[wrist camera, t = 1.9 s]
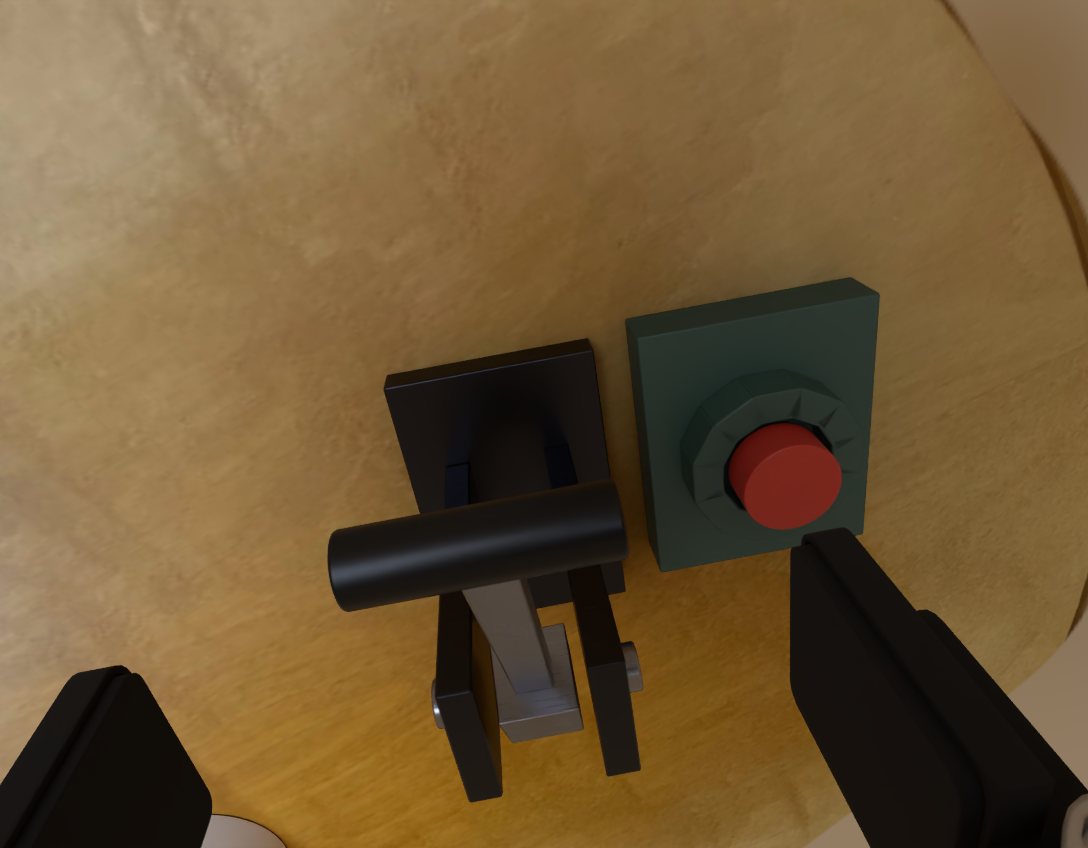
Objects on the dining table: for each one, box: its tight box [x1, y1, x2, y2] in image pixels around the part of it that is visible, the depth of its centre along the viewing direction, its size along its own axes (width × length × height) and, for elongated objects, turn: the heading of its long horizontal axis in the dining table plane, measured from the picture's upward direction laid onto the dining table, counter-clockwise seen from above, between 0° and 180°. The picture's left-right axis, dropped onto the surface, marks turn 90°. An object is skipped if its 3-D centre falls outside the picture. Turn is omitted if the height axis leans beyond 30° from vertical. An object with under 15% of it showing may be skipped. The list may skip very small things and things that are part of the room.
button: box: [729, 423, 842, 529], centre depth 26 cm, size 4×4×2 cm
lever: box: [328, 479, 629, 743], centre depth 17 cm, size 12×5×2 cm, turn 9°
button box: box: [625, 277, 880, 572], centre depth 28 cm, size 11×9×4 cm
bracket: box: [384, 338, 643, 802], centre depth 25 cm, size 12×8×13 cm, turn 9°
